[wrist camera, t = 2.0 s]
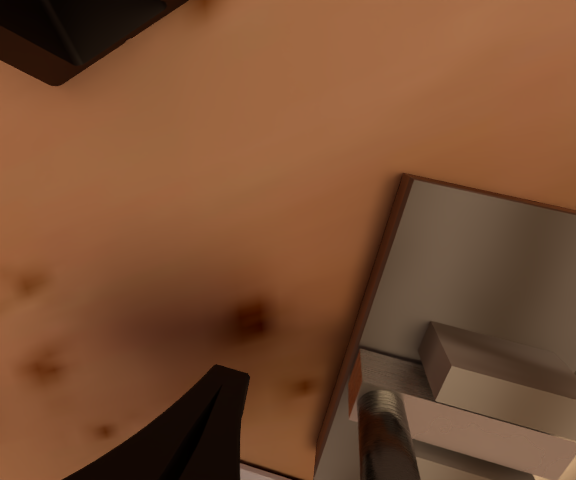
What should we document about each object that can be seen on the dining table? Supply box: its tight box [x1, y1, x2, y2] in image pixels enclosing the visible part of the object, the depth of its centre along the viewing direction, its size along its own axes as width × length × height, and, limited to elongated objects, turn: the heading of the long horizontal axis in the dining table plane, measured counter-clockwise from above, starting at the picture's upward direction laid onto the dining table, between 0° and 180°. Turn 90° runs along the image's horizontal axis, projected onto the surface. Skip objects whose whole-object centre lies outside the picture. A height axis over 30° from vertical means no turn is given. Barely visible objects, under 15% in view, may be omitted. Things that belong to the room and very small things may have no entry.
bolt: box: [348, 349, 576, 480], centre depth 11 cm, size 8×2×6 cm, turn 79°
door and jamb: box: [313, 173, 576, 480], centre depth 13 cm, size 18×17×5 cm
